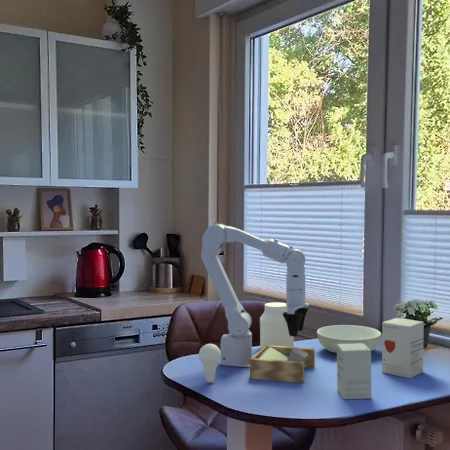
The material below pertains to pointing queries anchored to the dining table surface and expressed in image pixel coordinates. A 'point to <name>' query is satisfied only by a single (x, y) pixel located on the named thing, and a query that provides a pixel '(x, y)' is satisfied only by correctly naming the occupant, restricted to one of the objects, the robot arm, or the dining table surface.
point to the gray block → (297, 355)
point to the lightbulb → (209, 360)
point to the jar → (274, 326)
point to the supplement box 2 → (402, 347)
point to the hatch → (273, 355)
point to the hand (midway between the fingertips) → (296, 333)
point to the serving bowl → (348, 336)
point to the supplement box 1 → (354, 371)
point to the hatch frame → (281, 365)
